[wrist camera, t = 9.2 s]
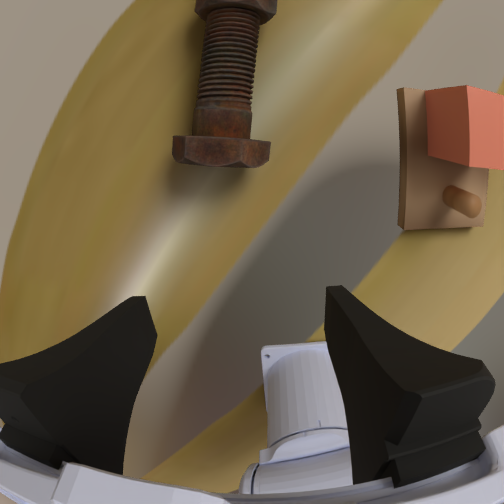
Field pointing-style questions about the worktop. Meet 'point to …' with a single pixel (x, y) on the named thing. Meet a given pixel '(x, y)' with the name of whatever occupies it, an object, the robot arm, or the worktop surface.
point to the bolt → (226, 87)
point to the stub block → (434, 176)
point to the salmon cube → (466, 126)
